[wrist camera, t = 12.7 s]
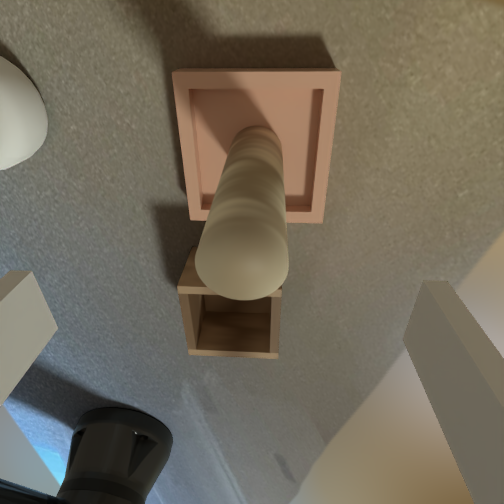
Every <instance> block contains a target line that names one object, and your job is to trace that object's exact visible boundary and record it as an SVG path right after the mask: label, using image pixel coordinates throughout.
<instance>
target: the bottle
mask: <svg viewBox="0 0 504 504" xmlns="http://www.w3.org/2000/svg"><path fill="white" fill-rule="evenodd" d="M47 126H48V117H47V113H46V108H45V105H44V102H43V100H42V98H41V96H40V93H39V92H38V90H37V89H36V88H35V86H34V85H33V83H32V82H31V80H30V79H29V78H28V77H27V76H26V75H25V74H24V73H23V72H22V71H21V70H20V69H19V68H18V67H16V66H15V65H13V64H12V63H11V62H9V61H8V60H6V59H5V58H3V57H2V56H0V170H4V169H8V168H10V167H12V166H14V165H16V164H18V163H20V162H22V161H24V160H26V159H28V158H30V157H31V156H32V155H33V154H34V153H35V152H36V151H37V150H38V149H39V148H40V147H41V146H42V144H43V143H44V140H45V138H46V135H47Z"/></svg>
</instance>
